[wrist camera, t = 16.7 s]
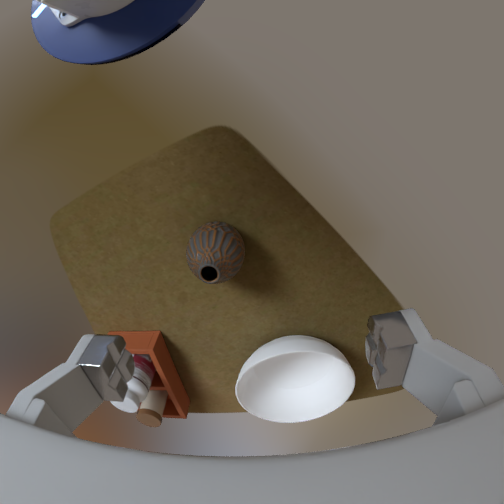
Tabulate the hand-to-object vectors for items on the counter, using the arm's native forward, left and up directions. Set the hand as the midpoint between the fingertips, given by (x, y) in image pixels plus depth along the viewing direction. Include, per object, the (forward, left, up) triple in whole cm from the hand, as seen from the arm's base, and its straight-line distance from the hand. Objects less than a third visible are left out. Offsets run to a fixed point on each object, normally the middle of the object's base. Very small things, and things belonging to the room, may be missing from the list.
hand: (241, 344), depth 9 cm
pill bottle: (+7, -36, -28) cm, 46 cm away
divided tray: (+11, -39, -29) cm, 50 cm away
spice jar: (+14, -42, -28) cm, 52 cm away
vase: (+3, -10, -29) cm, 31 cm away
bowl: (+26, -18, -29) cm, 43 cm away
